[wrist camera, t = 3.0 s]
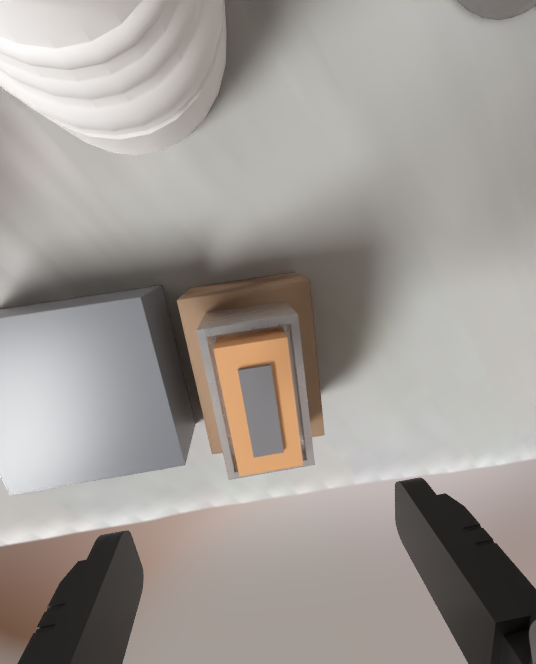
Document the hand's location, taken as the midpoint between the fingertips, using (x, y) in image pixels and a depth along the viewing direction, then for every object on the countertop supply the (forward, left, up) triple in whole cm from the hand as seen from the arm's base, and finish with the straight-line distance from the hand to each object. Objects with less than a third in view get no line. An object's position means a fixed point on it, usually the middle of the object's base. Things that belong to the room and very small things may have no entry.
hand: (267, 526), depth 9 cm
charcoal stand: (+12, 0, -16) cm, 20 cm away
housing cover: (0, 0, -8) cm, 8 cm away
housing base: (0, 0, -11) cm, 11 cm away
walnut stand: (0, 0, -16) cm, 16 cm away
